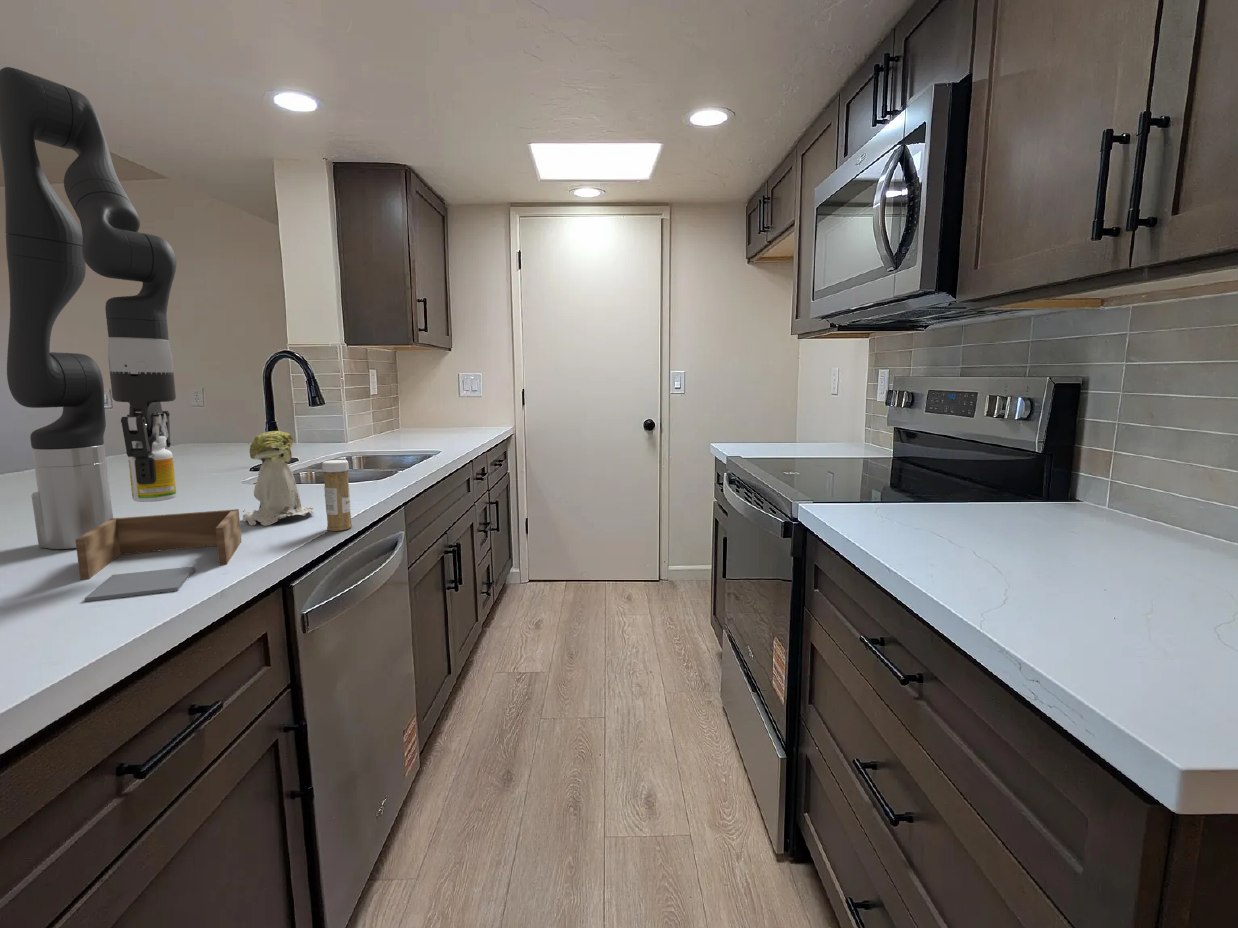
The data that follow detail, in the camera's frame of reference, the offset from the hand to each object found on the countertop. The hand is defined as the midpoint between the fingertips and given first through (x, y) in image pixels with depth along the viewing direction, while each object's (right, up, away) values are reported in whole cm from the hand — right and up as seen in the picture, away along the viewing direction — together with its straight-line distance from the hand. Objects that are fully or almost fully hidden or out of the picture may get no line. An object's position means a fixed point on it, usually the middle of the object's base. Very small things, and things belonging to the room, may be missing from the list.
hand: (153, 479), depth 91 cm
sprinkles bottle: (+17, -10, +24) cm, 32 cm away
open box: (-1, -13, +5) cm, 14 cm away
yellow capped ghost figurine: (+1, -9, +33) cm, 34 cm away
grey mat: (+4, -15, -7) cm, 17 cm away
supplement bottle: (0, -3, +1) cm, 3 cm away
